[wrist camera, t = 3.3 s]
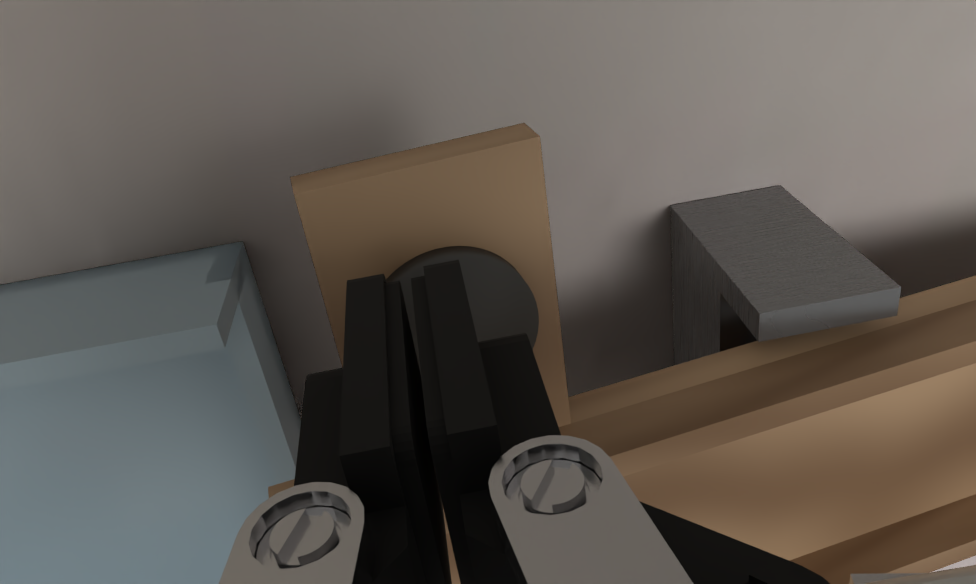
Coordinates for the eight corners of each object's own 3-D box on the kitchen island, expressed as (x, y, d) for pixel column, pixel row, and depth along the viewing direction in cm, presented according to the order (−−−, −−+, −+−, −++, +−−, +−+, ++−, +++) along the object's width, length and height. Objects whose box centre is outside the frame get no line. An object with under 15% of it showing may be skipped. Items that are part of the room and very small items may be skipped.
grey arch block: (670, 205, 21) (759, 313, 16) (780, 185, 21) (901, 287, 16) (676, 467, 26) (747, 612, 21) (766, 450, 26) (858, 589, 21)
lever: (167, 182, 13) (148, 286, 10) (1274, -68, 18) (1515, -53, 14) (343, 666, 20) (366, 824, 17) (1121, 398, 24) (1262, 482, 21)
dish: (-314, 341, 20) (-461, 449, 16) (242, 241, 20) (216, 324, 17) (-80, 643, 25) (-151, 770, 22) (346, 559, 26) (343, 669, 22)
